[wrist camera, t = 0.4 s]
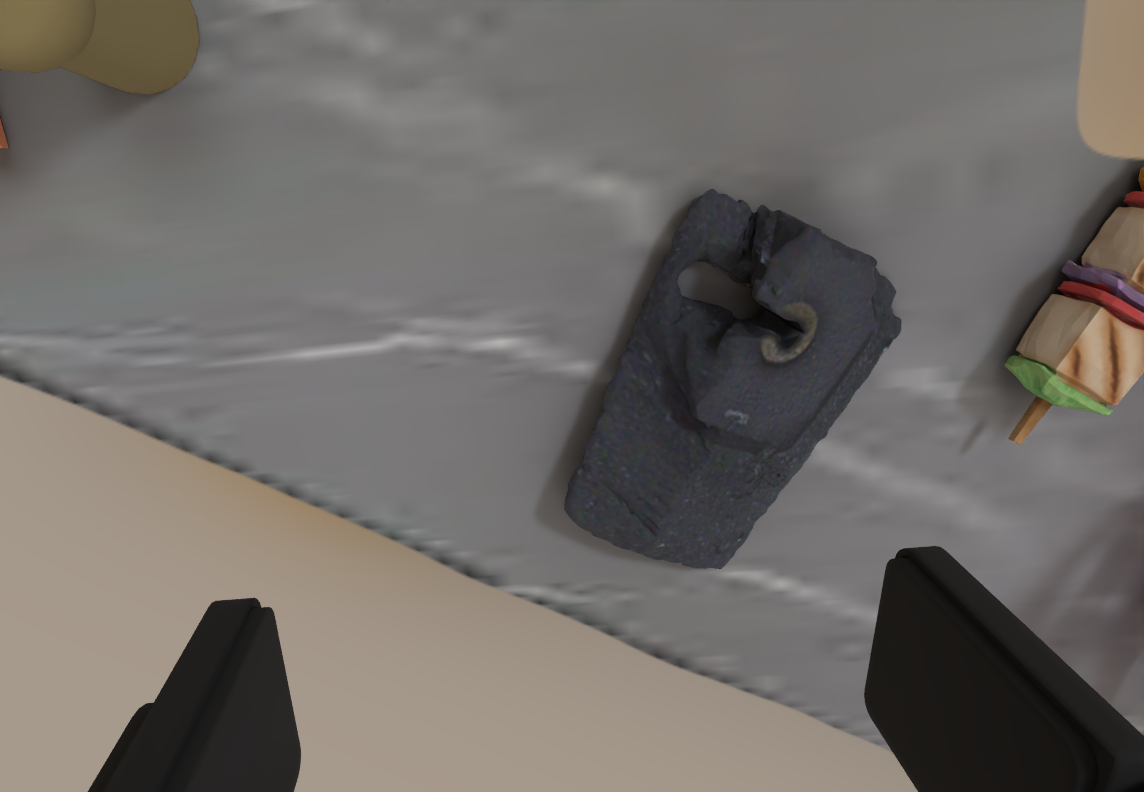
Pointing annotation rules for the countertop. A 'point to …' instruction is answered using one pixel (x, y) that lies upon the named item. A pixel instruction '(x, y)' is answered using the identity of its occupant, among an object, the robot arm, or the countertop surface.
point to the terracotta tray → (2, 137)
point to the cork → (102, 40)
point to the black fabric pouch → (728, 384)
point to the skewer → (1089, 325)
